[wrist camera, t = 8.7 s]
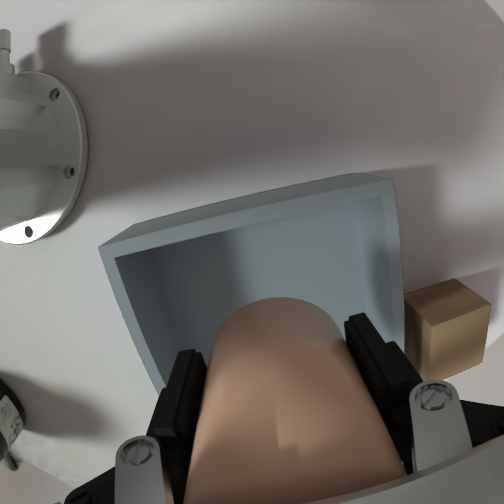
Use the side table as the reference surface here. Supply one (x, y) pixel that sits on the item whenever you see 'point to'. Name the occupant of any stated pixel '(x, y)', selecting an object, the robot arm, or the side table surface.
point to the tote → (259, 264)
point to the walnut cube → (445, 329)
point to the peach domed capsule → (285, 413)
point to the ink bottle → (9, 419)
